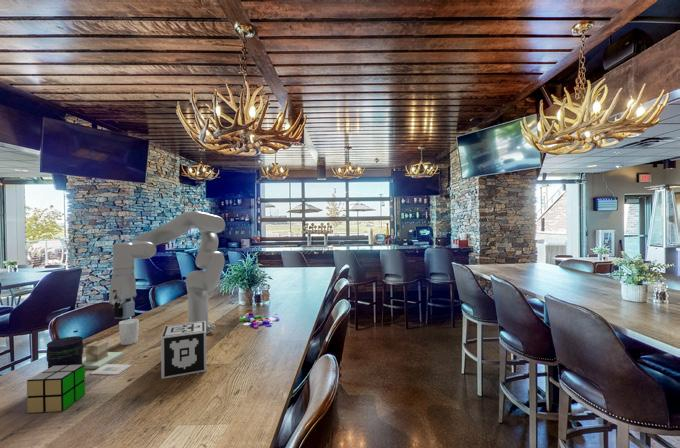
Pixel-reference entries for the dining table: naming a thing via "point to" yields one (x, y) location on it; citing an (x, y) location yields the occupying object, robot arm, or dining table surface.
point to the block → (183, 349)
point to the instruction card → (111, 369)
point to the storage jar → (65, 351)
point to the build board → (102, 360)
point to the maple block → (96, 350)
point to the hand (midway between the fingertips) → (123, 315)
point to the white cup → (129, 331)
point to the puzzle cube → (55, 388)
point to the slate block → (128, 309)
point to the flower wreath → (258, 320)
